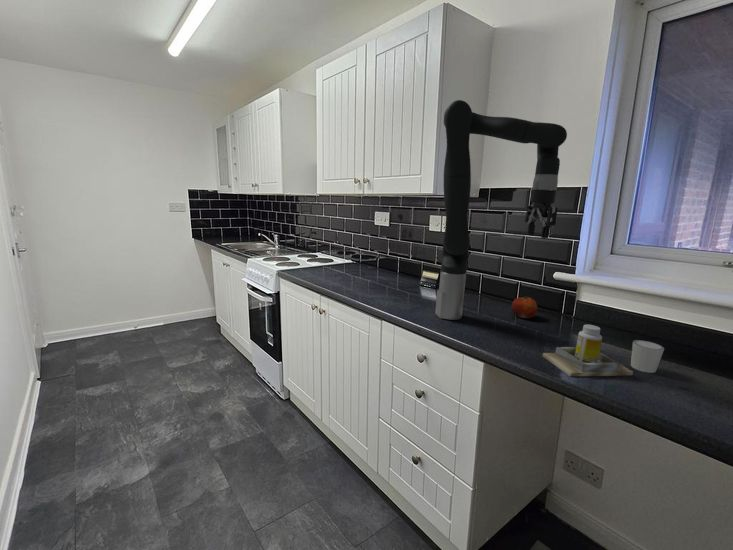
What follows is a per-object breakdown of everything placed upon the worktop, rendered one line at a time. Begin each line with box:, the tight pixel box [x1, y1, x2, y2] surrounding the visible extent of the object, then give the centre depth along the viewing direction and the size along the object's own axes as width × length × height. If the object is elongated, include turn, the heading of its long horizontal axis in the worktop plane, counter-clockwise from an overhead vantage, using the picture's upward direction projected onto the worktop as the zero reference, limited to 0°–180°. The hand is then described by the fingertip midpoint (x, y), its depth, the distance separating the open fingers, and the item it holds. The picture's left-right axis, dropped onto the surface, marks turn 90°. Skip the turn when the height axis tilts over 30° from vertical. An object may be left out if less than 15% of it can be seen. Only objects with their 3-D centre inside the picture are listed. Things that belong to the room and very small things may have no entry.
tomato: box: [511, 296, 538, 319], centre depth 139 cm, size 9×9×8 cm
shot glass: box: [630, 339, 665, 374], centre depth 99 cm, size 7×7×7 cm
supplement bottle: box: [575, 324, 603, 363], centre depth 99 cm, size 6×6×10 cm
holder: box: [542, 346, 634, 377], centre depth 99 cm, size 18×12×3 cm, turn 97°
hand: (537, 236), depth 125 cm, fingers open, 8 cm apart
